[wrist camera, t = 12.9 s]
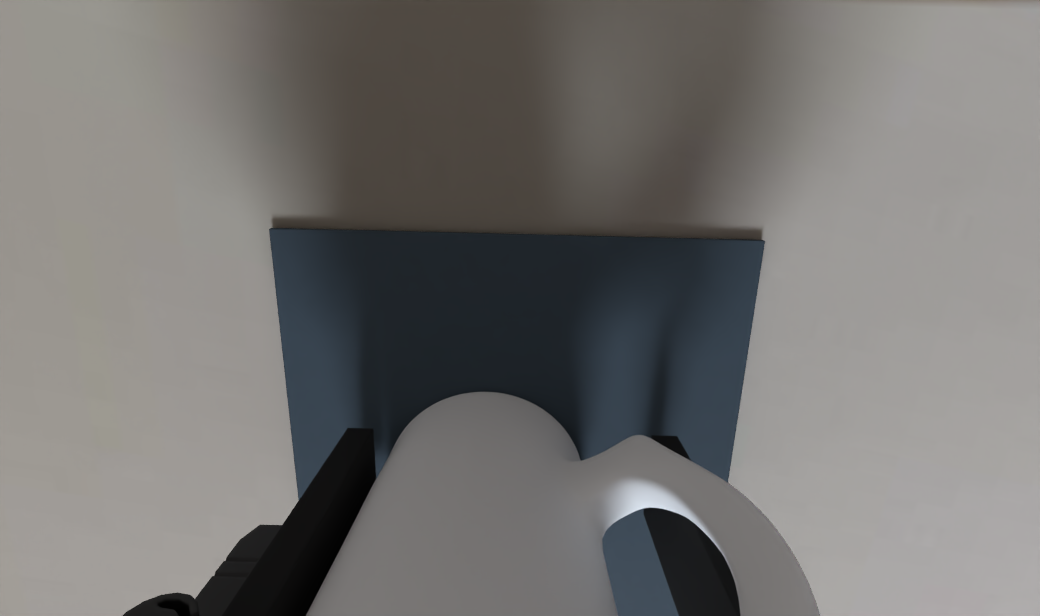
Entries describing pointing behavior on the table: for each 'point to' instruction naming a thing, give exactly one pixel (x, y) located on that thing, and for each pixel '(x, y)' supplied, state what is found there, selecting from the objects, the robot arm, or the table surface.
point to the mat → (521, 346)
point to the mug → (532, 521)
